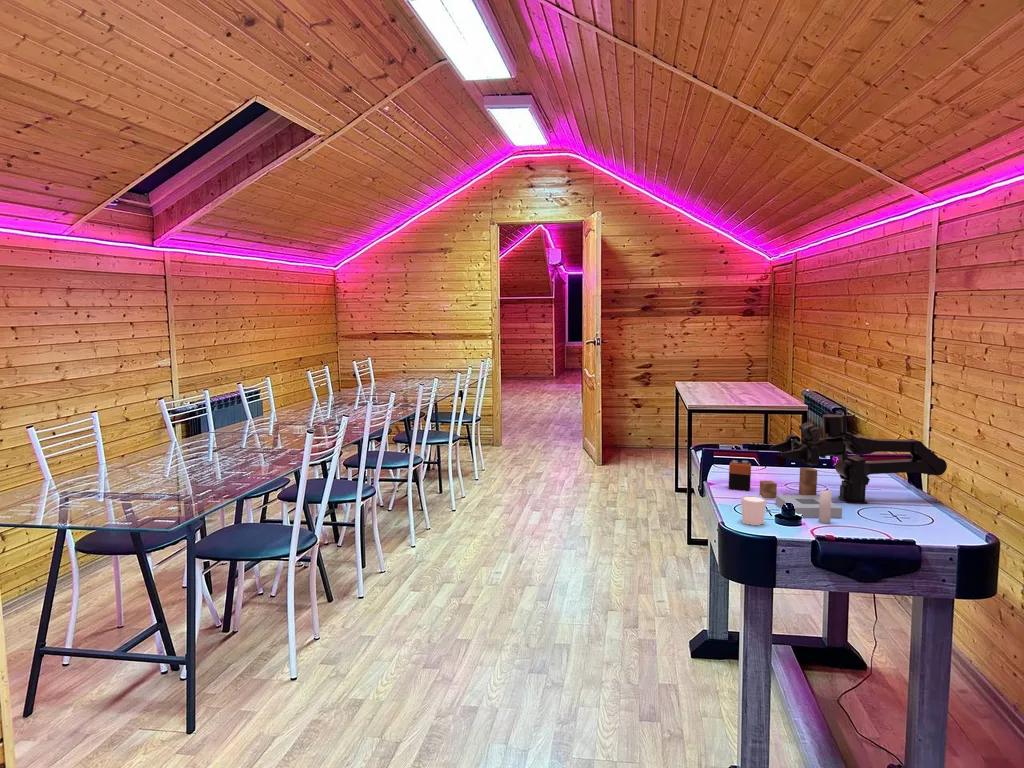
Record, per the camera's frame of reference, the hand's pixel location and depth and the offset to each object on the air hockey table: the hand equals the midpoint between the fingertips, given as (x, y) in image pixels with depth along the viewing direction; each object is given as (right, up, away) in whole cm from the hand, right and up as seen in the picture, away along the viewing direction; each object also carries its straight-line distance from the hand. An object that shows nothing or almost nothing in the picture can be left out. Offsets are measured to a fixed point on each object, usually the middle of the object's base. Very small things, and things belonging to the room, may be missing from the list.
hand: (775, 451), depth 207 cm
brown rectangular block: (+13, -16, +7) cm, 21 cm away
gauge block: (+5, -17, -14) cm, 23 cm away
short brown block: (-1, -16, +5) cm, 16 cm away
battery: (-7, -15, +15) cm, 22 cm away
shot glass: (-16, -18, -23) cm, 33 cm away
